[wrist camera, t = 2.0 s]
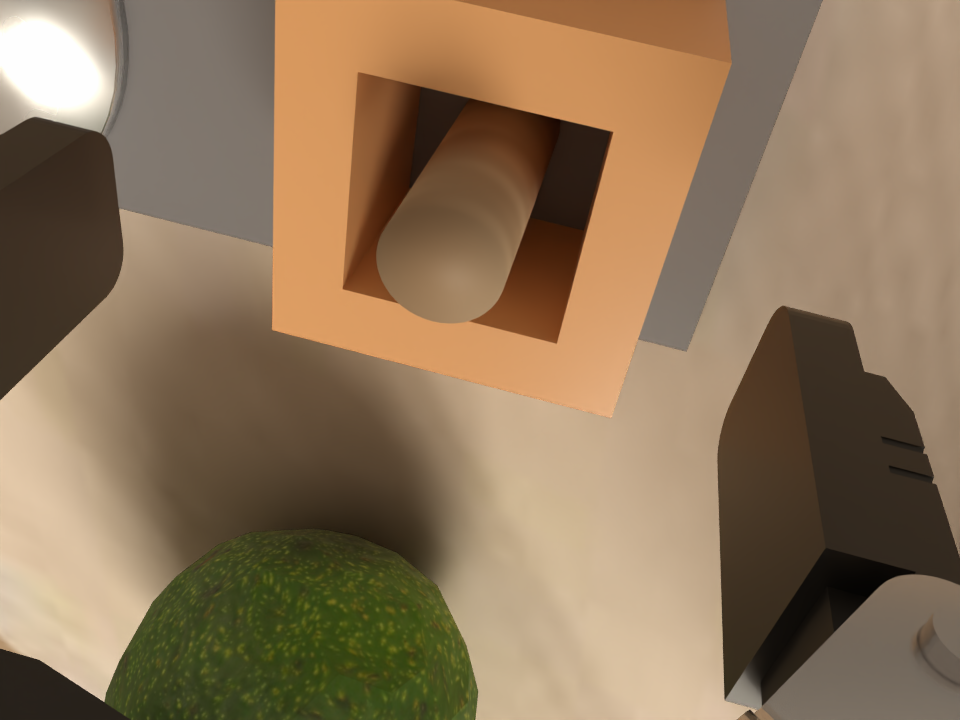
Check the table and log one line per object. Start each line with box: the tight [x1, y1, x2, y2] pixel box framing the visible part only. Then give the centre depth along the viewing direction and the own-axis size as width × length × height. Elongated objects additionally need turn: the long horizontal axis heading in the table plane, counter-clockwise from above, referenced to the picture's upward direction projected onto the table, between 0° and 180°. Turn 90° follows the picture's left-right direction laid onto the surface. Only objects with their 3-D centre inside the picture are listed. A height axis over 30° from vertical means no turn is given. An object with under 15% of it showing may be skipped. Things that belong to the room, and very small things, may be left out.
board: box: [106, 0, 823, 352], centre depth 17 cm, size 21×8×2 cm, turn 81°
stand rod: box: [376, 98, 560, 324], centre depth 14 cm, size 2×2×6 cm
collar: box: [272, 0, 732, 418], centre depth 14 cm, size 6×6×4 cm
